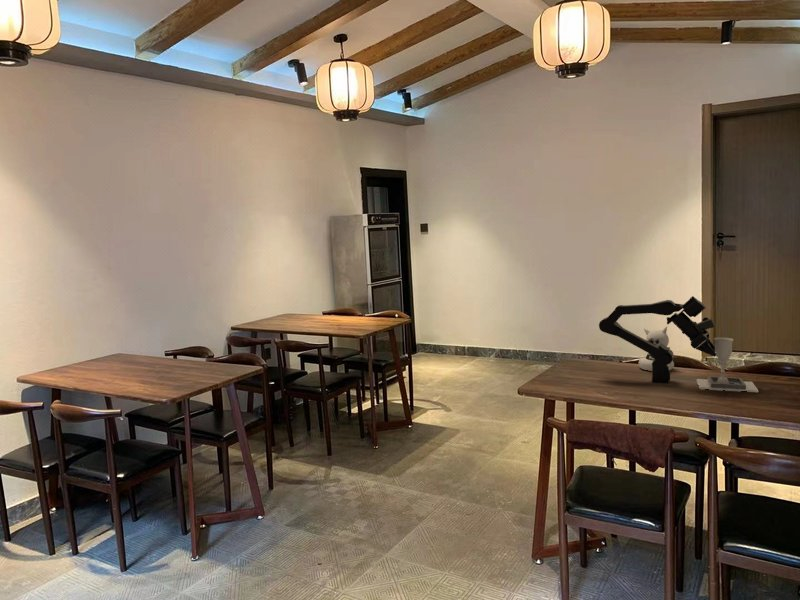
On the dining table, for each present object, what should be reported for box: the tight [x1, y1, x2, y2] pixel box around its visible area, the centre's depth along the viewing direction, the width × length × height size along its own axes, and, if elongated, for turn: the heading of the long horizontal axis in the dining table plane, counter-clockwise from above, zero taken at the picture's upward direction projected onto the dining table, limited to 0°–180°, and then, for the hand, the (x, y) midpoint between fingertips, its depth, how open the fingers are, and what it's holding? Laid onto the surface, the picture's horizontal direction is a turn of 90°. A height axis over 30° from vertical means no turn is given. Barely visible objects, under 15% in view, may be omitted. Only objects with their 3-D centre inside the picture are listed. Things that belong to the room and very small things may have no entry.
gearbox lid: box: [696, 375, 759, 393], centre depth 237 cm, size 20×14×2 cm
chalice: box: [713, 337, 734, 384], centre depth 237 cm, size 7×7×18 cm
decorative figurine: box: [638, 326, 675, 372], centre depth 269 cm, size 15×15×20 cm
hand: (715, 353), depth 238 cm, fingers open, 9 cm apart
